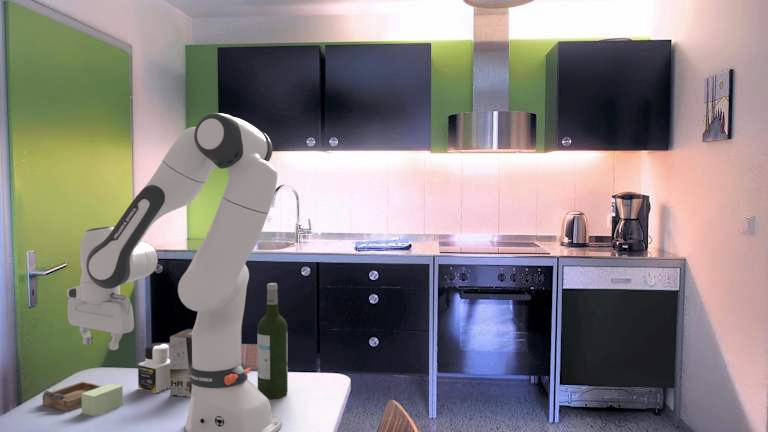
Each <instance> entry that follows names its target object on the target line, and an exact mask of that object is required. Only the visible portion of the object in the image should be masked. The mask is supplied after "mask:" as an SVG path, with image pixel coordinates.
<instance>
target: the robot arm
mask: <svg viewBox="0 0 768 432" xmlns="http://www.w3.org/2000/svg"><path fill="white" fill-rule="evenodd" d="M272 155H273V144H272V141H271V139H270V138H269V136H268V135H267V134H266V133H265V132H264V131H263V130H261V129H260V128H258V127H255V126H254V125H252V124H250V123H249V122H247V121H245V120H243V119H242V118H238V117H234V116H232V115H230V114H226V113H221V112H220V113H219V112H213V113H210V114H209V113H208V114H207V115H205V116H203V117H202V118H200V120H199V121H198V123H197V124H196V126H192V127H188V128H186V129H184V131H183V132H182V133H181V134H180V135H179V136H178V137H177V138H176V140H175V141H174V142H173V143H172V145H171V146H170V148H169V149H168V151H167V152H166V154H165V156H164V157H163V159H162V161H161V163H160V164H159V166H158V167H157V169H156V170H155V172H154V174H153V175H152V176H151V178H150V179H149V181H148V182H147V183H146V184H145V186H144V187H143V188H141V190H140V191H139V193H138V194H137V195H136V196H135V198H134V199H133V200H132V201H131V203H130V204H129V205H128V207H127V209H126V210H125V211H124V213H123V214H122V216H121V217H120V218H119V220H118V222H116V224H115V226H113V225H112V226H110V225H109V226H102V227H94V228H90V229H88V230H86V231H85V232H83V234H82V237H81V241H80V250H79V251H80V253H79V254H80V255H79V265H80V268H81V276H80V279H79V281H80V282H79V285H77V286H73V287H69V288H68V289H67V290H66V296H67V297H68V300H67V320H68V322H69V324H70V325H71V326H75V327H79V333H80V335H81V337H82V344H83V345H87V346H89V345H92V344H93V343H94V336H92V334H91V331H90V330H91V329H92V330H96V331H102V332H107V333H110V337H111V340H110V341H108V345H107V346H108V350H110V351H115V350H118V349H119V348H120V346H119V343H120V341H121V339H122V337H123V334H127V333H130V332H132V331H133V330H134V328H135V319H134V310H133V305H132V304H131V300H130V299H129V298H128V297H127V295H125V294H121V286H122V285H125V284H127V283H131V282H135V281H137V280H140V279H144V278H146V277H148V276H150V275H151V274H153V273H154V272H155V271H156V269H157V267H158V263H159V256H158V253H157V252H158V251H157V250H156V249H155V247H154V246H153V245H152V244H151V243H149V242H148V241H143V238H144V236H145V235H146V234H147V232H148V231H149V229H151V226H153V224H155V222H157V220H159V219H160V218H162V217H163V216H165V215H167V214H169V213H171V212H173V211H176V210H177V209H180V208H184V207H186V206H188V205H189V204H191V203H192V202H193V201H194V200H195V199H196V198H197V196H198V195H199V194H200V192H201V191H202V190H203V189H204V187H205V185H206V183H207V181H208V179H209V178H210V175H211V174H212V172H213V170H215V168H217V167H218V169H222V170H223V169H226V170H227V173H228V174H227V175H228V177H227V178H228V180H227V184H226V186H225V188H224V191H223V194H222V196H221V198H220V202H219V204H218V207H217V210H216V212H215V215H214V217H213V219H212V222H211V225H210V227H209V229H208V232H207V233H206V235H205V237H204V239H203V240H202V242H201V244H200V245H199V247H198V249H197V250H196V252H195V254H194V256H193V258H192V260H191V262H190V264H189V265H188V267H187V269H186V271H185V272H184V273H183V274H182V276H181V277H180V280H179V281H178V286H177V294H178V297H179V299H180V302H181V303H182V304H183V305H184V306H185V307H186V308H187V309H189V310H192V311H194V312H197V314H196V319H195V323H194V326H193V328H192V329H193V331H192V365H191V367H190V382H191V383H192V390H191V397H189V398H190V400H189V406H188V415H187V419H186V422H185V425H184V429H185V432H277V431H279V430H280V429H281V427H282V423H283V421H282V419H281V418H279V417H278V416H277V417H276V416H274V415H273V414H272V408H271V403H270V399H268V398H267V397H266V396H264V395H263V394H262V393H261V392H260V391H259V390H258V387H257V386H256V385H254V384H253V382H251V381H250V380H249V379H248V378H249V377H248V374H250V373H251V367H247V368H246V367H245V365H244V363H243V361H242V326H243V318H244V312H245V305H246V296H247V287H248V282H249V279H250V273H249V268H248V267H247V265H246V263H247V261H248V260H249V257H250V256H251V254H252V253H253V250H254V249H255V247H256V246H257V244H258V241H259V238H260V236H261V234H262V231H263V228H264V225H265V223H266V220H267V218H268V215H269V212H270V210H271V207H272V203H273V200H274V198H275V193H276V190H277V189H276V188H277V184H278V183H277V182H278V172H277V170H276V168H275V167H274V166H273V165H272V164H271V163H270V160H271V158H272Z"/></svg>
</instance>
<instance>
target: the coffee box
mask: <svg viewBox="0 0 768 432" xmlns="http://www.w3.org/2000/svg"><path fill="white" fill-rule="evenodd" d="M192 331H193V328H187V329H185V330H182V331H179V332H177V333H175V334H172V335H169V336H170V337H169V359H170V388H169V395H170V396H173V395H177V396H176V397H183V396H186V397H185V398H190V397H191V390H192V383H191V382H190V367H191V365H192Z"/></svg>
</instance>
